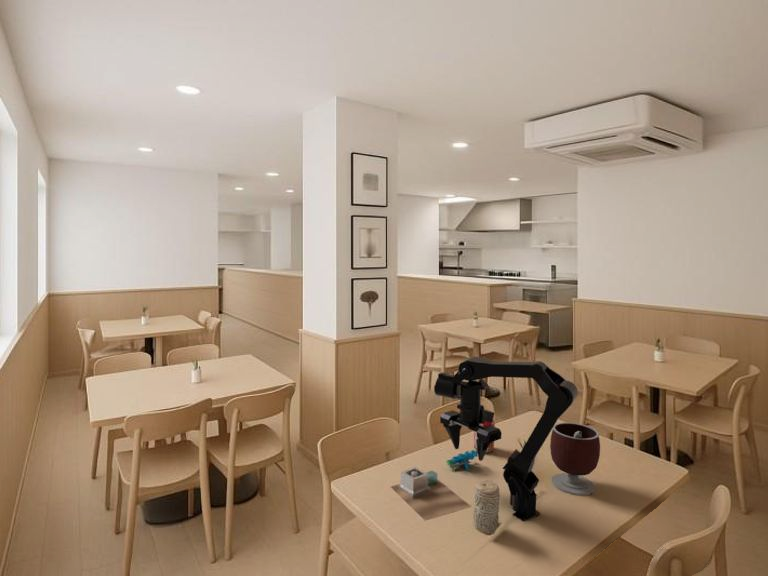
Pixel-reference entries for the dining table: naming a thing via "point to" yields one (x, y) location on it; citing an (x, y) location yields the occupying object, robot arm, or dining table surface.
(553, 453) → the mate gourd
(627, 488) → the dining table surface
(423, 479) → the grey piece
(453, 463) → the blue toy animal
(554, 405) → the robot arm
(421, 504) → the post board
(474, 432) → the soda can
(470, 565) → the dining table surface
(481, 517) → the carving
